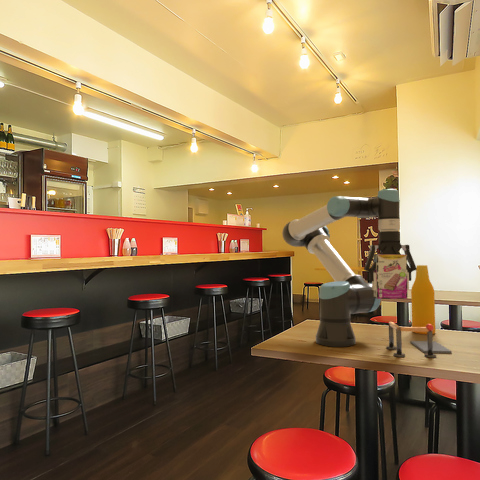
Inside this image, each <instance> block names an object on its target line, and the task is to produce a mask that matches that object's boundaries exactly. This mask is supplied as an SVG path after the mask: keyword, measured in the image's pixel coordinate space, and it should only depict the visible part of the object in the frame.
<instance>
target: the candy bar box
mask: <svg viewBox="0 0 480 480" xmlns="http://www.w3.org/2000/svg"><path fill="white" fill-rule="evenodd" d="M400 254H401V253H400ZM374 262H376V269H375V270H374V272H375V273H376V290H374V298H377V299H381V300H408V290H407V264H408V260H407V255H405V253H404V254H401V255H397V254H385V255H381V254H379V253H378V254H377V253H375V254H374V256H373V263H374Z"/></svg>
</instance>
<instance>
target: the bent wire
mask: <svg viewBox="0 0 480 480" xmlns="http://www.w3.org/2000/svg"><path fill="white" fill-rule="evenodd" d="M433 329H434V327H433V325H431V324H427V325H426V327H412V326H400V325H398V324H396V323H395V322H393V321H388V345H386V346H385V347H386V348H385V349H387V350H391V351H392V350H394V351H395V350H396V352H394V353H393V357H396V358H405V357H406V354H405V353H404V352H403V347H402V344H403V343H402V332H413V331H420V332H427V334H426V338H427V339H426V341H427V346H428V353H424V354H423V355H424V357H426V358H427V359H428V358H430V359H436V358H437V354H436V353H433V334H432V330H433ZM394 330H395V331H394ZM394 332H395V333H396V334H395V333H394ZM394 335H396V336H394ZM394 337H396V338H395V339H396V340H395V341H396V345H395V341H394Z"/></svg>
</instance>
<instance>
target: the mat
mask: <svg viewBox="0 0 480 480" xmlns="http://www.w3.org/2000/svg"><path fill="white" fill-rule="evenodd" d="M410 344H412V346H414V347H415V348H417V349H418V350H420V351H421V352H422V353H424V354H426V353H428V346H427V340H410ZM452 352H453V351H452V350H450V348H447V347H445V346H444V345H442V344H441V343H439V342H438V341H435V340H434V341H433V354H452Z"/></svg>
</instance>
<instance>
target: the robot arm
mask: <svg viewBox="0 0 480 480" xmlns="http://www.w3.org/2000/svg"><path fill="white" fill-rule="evenodd" d="M400 202H401V200H400V192H399V190H397V189H395V188H387V189H381V190H379V191H377V195H376V197H354V196H343V195H338V196H331V197H330V198H329V200H328V201H327V203H326V205H324V206H322V207H320V208H318V209H315V210H314V211H312V212H310V213H308V214H307V215H304V216H303V217H301V218H299V219H297V218H296V219H293V220H291V221H288V222H287V223H286V224H285V225H284V227H283V229H282V238H283V240H284V242H285V243H286V244H288V245H289V246H291V247H296V248H297V247H299V248H300V247H301V248H302V247H303V248H305V249H306V250H307V251H308V253H309V254H311V255H315V257H316V259H318V261H319V262H320V263H321V265H322V266H323V268H324V269H325V270H326V271H327V272H328V273H329V275H330V277H332V279H333V280H334V281H331V282H330V281H329V282H326V283H323V284H321V285H320V287H319V294H318V297H319V324H318V328H317V331H316V334H315V342H316V344H318V345H320V346H325V347H331V348H332V347H333V348H335V347H336V348H337V347H338V348H344V347H351V346H355V345H356V344H357V342H356V339H357V338H356V335H355V331H354V330H353V327H352V323H351V315H354V314H362V313H366V314H367V313H371V312H374V311H376V310H378V308H379V306H380V304H381V302H382V301H381V300H382V299H377V298H374V290H376V273H375V272H374V270H375V269H376V262H374V261H373V260H374V254H376V252H377V251H379V253H378V254H381V255H385V254H397V255H401V252H400V250H401V249H402V251H403V252H404V255H407V291H410V282H412V272H415V271H416V270H417V265H416V264H415V260H414V258H413V256H412V253H411V251H410V250H411V249H410V244H401V243H402V242H401V232H400V230H401V228H400V227H401V225H400V224H401V222H400V221H401V219H400V206H401V205H400ZM346 217H349V218H358V219H368V218H374V217H377V218H378V219H377V220H378V221H377V222H378V223H377V224H378V227H377V228H378V231H379V232H378V245H374V244H371V245H369V253H368V256H367V258H366V262H365V265H364V267H363V270H364V271H366V272H368V275H369V276H368V277H369V278H368V279H369V282H368V281H367V280H366V279H365V278H364V276H362V275H361V274H356V273H355V272H354V271H353V270H352V268H351V267H350V266H349V264H348V263H347V262H346V261H345V260H344V259H343V257H342V256H341V255H340V254H339V252H338V251H337V250H336V249H335V248H334V247H333V246H332V244H331V243H330V241H331V238H330V236H331V234H330V230H329V228H328V227H327V226H328V225H330V224H333V223H334V222H335V223H336V222H337V221H340V220H342V219H344V218H346ZM377 249H378V250H377ZM372 262H373V263H372Z"/></svg>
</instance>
